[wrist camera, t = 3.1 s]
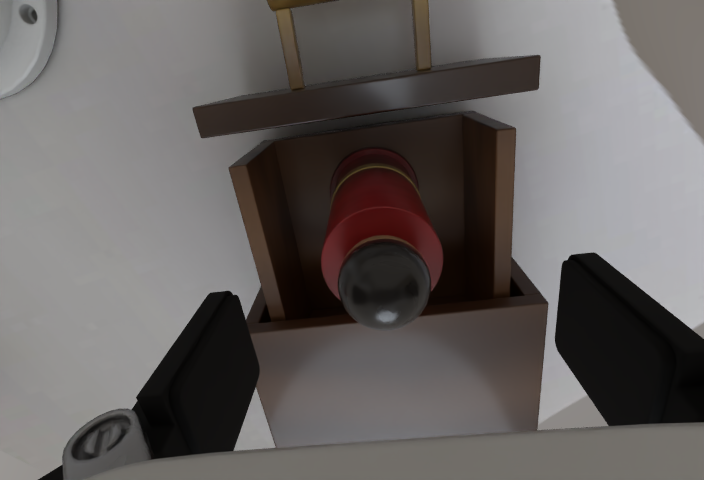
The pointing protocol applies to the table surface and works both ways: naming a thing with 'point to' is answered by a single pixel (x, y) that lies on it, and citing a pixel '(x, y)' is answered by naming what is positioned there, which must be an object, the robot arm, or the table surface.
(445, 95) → the drawer
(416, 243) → the red cylinder
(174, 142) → the table surface
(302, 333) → the cabinet
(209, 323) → the robot arm
